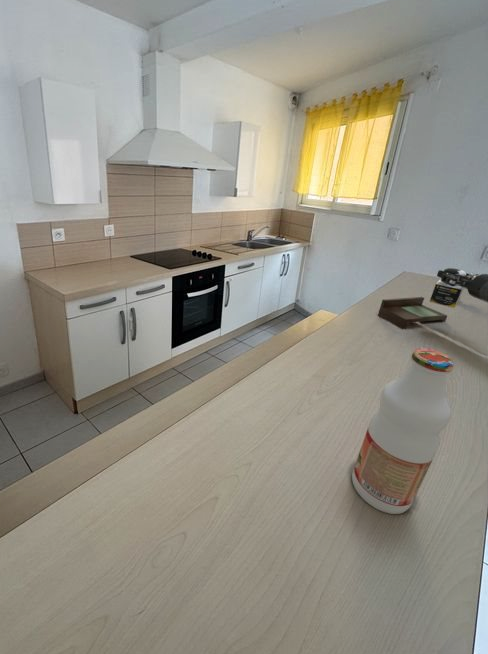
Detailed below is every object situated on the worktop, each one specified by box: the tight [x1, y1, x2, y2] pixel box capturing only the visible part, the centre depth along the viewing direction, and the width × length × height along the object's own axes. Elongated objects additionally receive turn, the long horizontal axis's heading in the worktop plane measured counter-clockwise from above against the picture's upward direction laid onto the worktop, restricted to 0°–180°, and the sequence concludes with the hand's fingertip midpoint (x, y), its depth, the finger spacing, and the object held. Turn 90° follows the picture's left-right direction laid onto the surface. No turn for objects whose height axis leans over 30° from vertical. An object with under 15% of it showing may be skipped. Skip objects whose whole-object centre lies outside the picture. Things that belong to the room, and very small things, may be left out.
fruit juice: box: [351, 347, 455, 515], centre depth 52 cm, size 9×9×28 cm
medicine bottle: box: [429, 267, 467, 309], centre depth 109 cm, size 7×7×12 cm
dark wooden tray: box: [377, 296, 448, 330], centre depth 126 cm, size 20×12×7 cm, turn 105°
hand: (447, 273), depth 110 cm, fingers closed on medicine bottle, 6 cm apart
